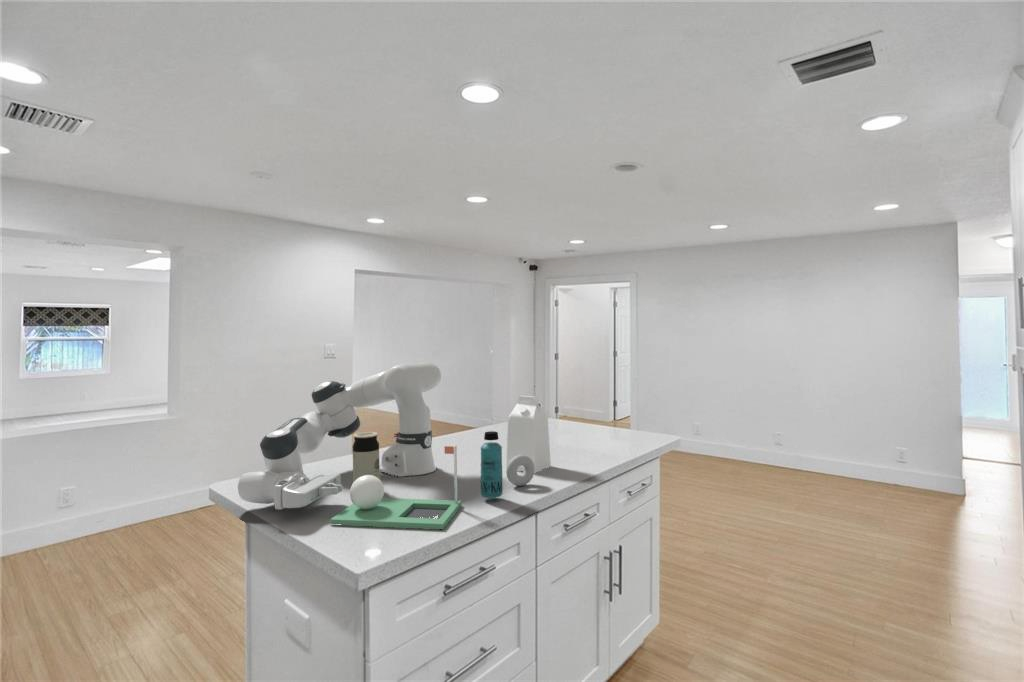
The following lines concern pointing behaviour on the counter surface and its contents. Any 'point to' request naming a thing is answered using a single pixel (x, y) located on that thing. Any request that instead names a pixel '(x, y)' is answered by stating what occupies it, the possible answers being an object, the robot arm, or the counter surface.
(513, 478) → the donut
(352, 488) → the ball
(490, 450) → the beverage bottle
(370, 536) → the counter surface
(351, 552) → the counter surface
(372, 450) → the travel mug
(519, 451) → the milk
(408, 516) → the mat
